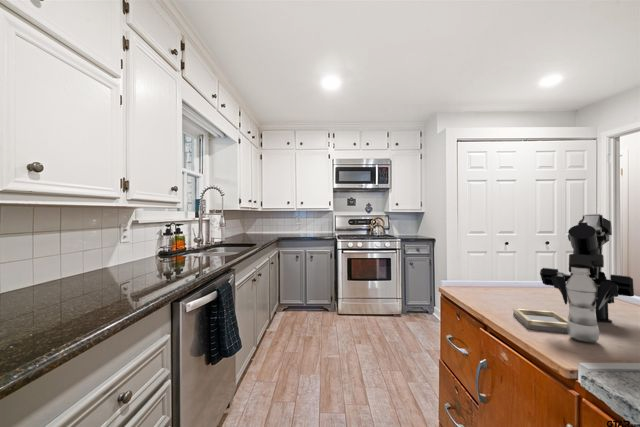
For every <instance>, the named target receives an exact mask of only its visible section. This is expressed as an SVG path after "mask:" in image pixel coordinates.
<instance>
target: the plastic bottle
mask: <svg viewBox="0 0 640 427" xmlns="http://www.w3.org/2000/svg"><path fill="white" fill-rule="evenodd" d="M571 273H572V274H573V275H572V276H571V277H570V278H569V279H568V281H566V291H567V297H568V302H567V304H568V317H567V319H568V322H567V332H566V333H567V334H568V336H569V337H570V338H572V339H574V340H576V341H580V342H585V343H597V342H598V341H599V340H600V336H601V332H600V329H599V325H598V321H597V319H596V309H595V308H596V299H597V292H598V287H597V285H596V284H595V282H594V281H593V280H592V279H591V278H590V277H589V275H590V269H589V268H588V267H578V266H572V267H571V272H570V274H571Z"/></svg>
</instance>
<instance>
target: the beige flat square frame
mask: <svg viewBox="0 0 640 427" xmlns="http://www.w3.org/2000/svg"><path fill="white" fill-rule="evenodd" d="M512 315H513V316H514V317H515V319H517V320H518V321H519V322H520V323H522V325H523V326H524V327H525V328H527V330H528V329H530V330H539V331H549V332H557V333H558V332H559V333H568V332H567V322H568V318H566V317H565V316H563V315H561V314H560V313H559V312H556V311H554V310H553V311H552V310H551V311H550V310H542V309H541V310H538V309H527V308H526V309H524V308H513V314H512Z"/></svg>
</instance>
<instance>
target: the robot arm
mask: <svg viewBox="0 0 640 427" xmlns="http://www.w3.org/2000/svg"><path fill="white" fill-rule="evenodd" d="M567 232H568V234H567V239H568V241H569V242H570V246H571V248H572V249H573V250H572V253H570V254H569V255H568V272H569V273H570V274H565V273H564V272H559V269H558V268H549V267H542V268H541V269H540V271H539V275H540V278H541V282H542V284H543V285H545V286H550V287H551V286H552V287H553V288H555V289H556V290H557V289H558V290H559V292H560V294H561V296H562V299H563V302H564V305H568V296H567V291H566V282H567V281H568V279H569V278H570V277H571V276H572V275H573V274H572V273H571V267H572V266H578V267H588V268H589V269H590V275H589V277H590V278H591V279H592V280H593V281H594V282H595V284H596V285H597V287H598V292H597V299H596V308H595V309H596V319H597V322H607V323H613V320H612V319H610V318H609V317H610V316H609V305H610V304H615V298H618V297H619V296H624V297H634V296H635V288H634V285H635V284H634V278H633V277H631V276H630V275H621V274H610V277H609V278H610V279H608V278H607V275H606V273H605V272H603V271H602V268H604V266H605V261H604V260H605V259H604V254H603V245H605V244H607V243H608V242H609V241H610V236H612V235H613V227H612V221H610V219H607V218H604V215H603V214H600V213H592V214H591V213H589V214H587V213H586V214H583V215H582V219H580V220H579V221H578V222H577V224H576V225H574V226H571V227H570V228H569V229H568V231H567Z"/></svg>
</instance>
